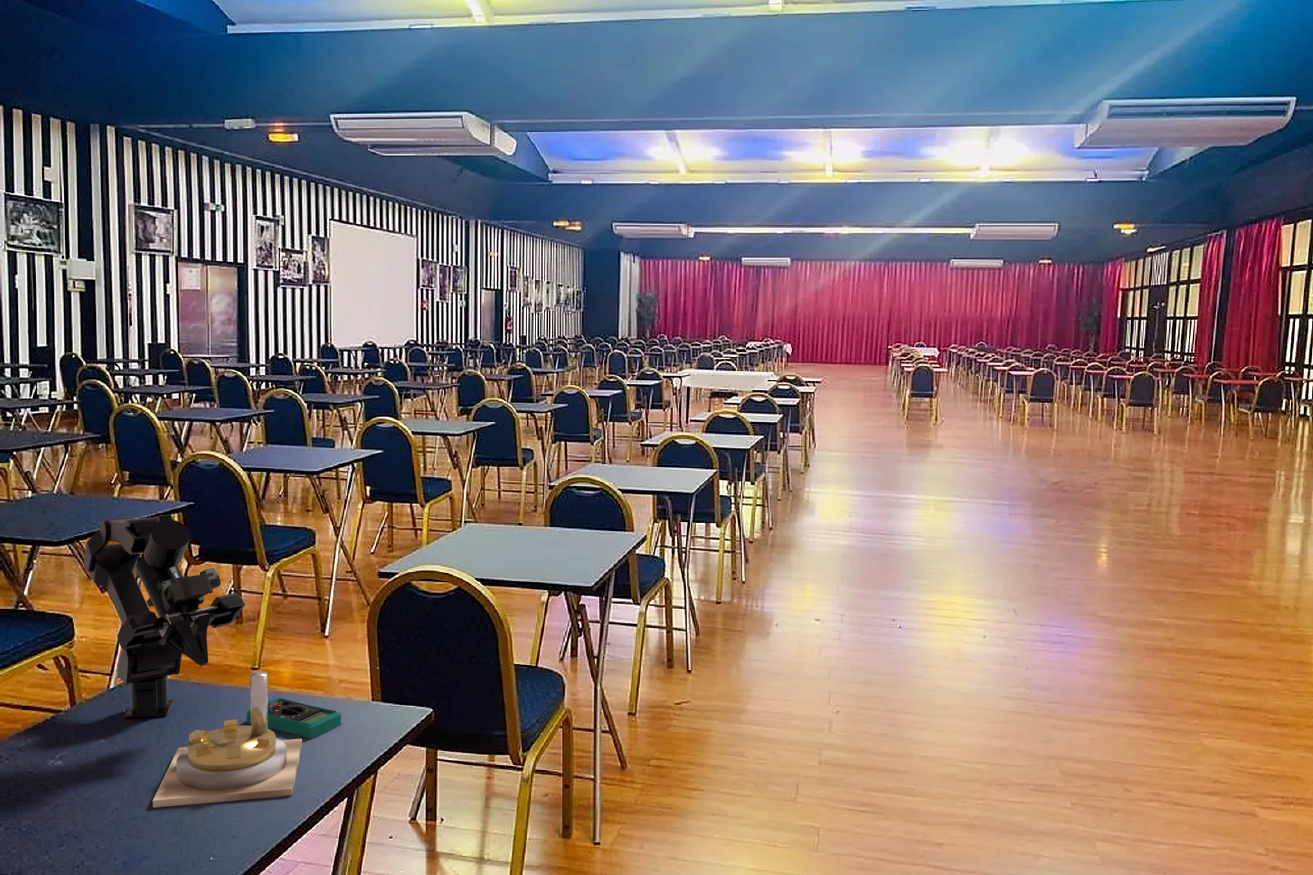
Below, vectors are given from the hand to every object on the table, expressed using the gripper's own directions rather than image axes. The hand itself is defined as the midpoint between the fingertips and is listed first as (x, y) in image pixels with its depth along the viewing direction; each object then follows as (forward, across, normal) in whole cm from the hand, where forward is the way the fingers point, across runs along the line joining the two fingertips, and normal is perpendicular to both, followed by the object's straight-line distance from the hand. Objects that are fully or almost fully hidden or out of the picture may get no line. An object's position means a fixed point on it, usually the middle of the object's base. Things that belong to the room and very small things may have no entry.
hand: (204, 664), depth 160 cm
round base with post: (+16, -4, -2) cm, 17 cm away
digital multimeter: (+12, +13, +7) cm, 19 cm away
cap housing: (+18, -4, 0) cm, 19 cm away
